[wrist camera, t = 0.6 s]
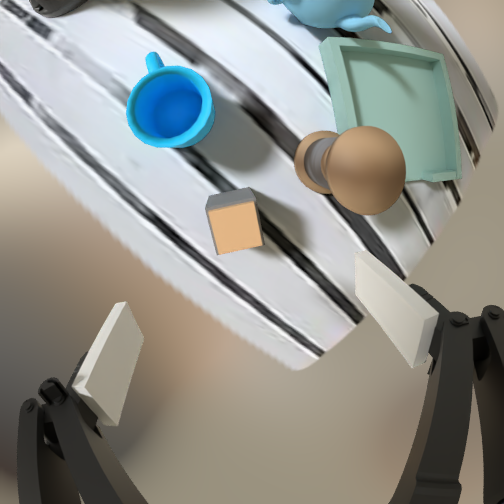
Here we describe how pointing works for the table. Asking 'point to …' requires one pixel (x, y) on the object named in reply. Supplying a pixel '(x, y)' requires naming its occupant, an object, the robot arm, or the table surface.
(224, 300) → the table surface
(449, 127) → the pale green tray
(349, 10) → the teapot
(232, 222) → the gray and orange block
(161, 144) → the mug
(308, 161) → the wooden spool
